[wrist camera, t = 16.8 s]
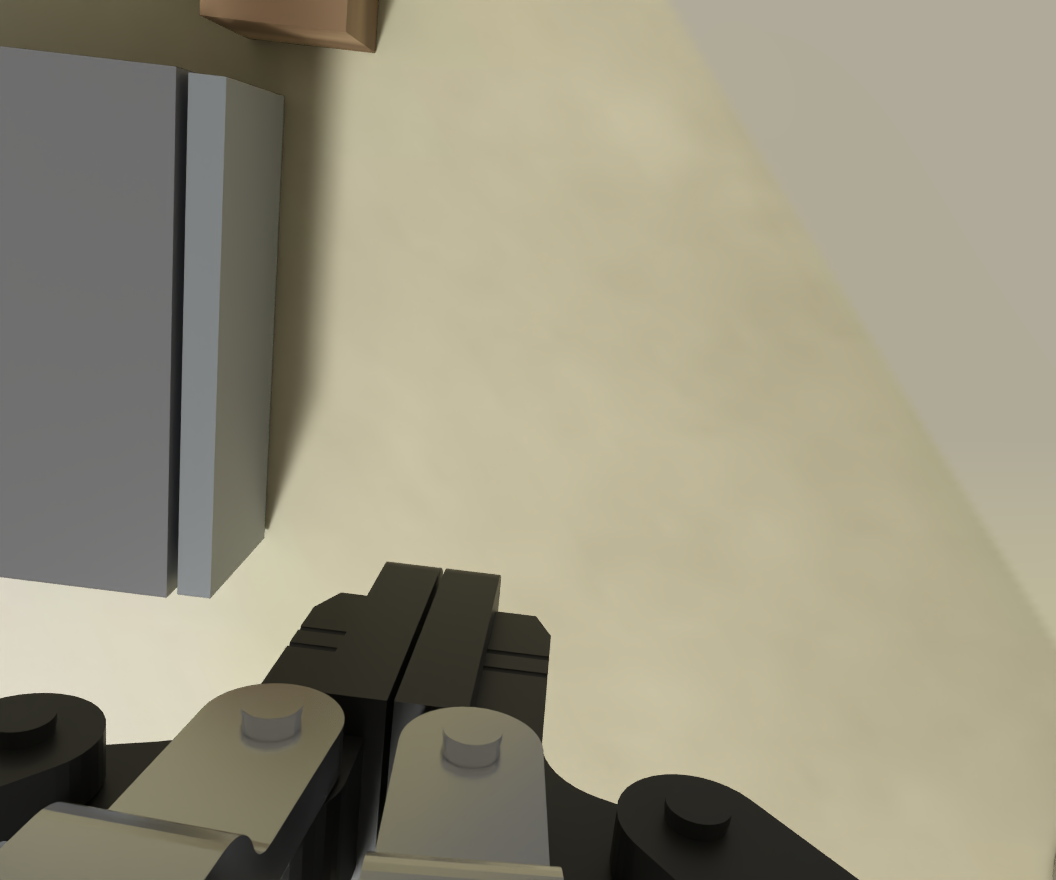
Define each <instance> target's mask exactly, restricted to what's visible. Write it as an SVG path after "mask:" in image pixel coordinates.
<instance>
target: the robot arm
mask: <svg viewBox="0 0 1056 880" xmlns="http://www.w3.org/2000/svg"><path fill="white" fill-rule="evenodd" d="M500 584H501V575H495V574H487V573H478V572H470V571H462V570H454V569H446V570H445V572H444V574H443V570H442V568H436V567H428V566H419V565H411V564H403V563H395V562H386V564H385V565H384V567H383V569H382V570H381V572H380V574H379V576H378V577H377V579H376V581H375V583H374V585H373V586H372V588H371V590H370V592H369V593H368V595H367V596H364V595H356V594H348V593H339V594H338V595H336V596H334V597H332V598H330V599H328V600H326V601H324V602H322V603H321V604H319V605H317V606H315V607H314V608H313V609H312V611H311V612H310V613H309V615H308V616H307V618H306V619H305V621H304V622H303V624H302V625H301V629H300V630H298V631H297V632H296V634H295V635H294V637H293V638H292V640H291V641H290V645H289V646H287V647H286V648H285V650H284V651H283V653H282V654H281V656H280V657H279V659H278V660H277V662H276V663H275V665H274V666H273V667H272V669H271V670H270V672H269V673H268V675H267V676H266V678H265V679H264V681H263V682H262V683H261V684H258V685H250V686H246V687H242V688H238V689H235V690H232V691H229V692H226V693H224V694H222V695H220V696H218V697H216V698H215V699H213V700H211V701H210V702H209V703H208V704H206V705H205V706H204V707H203V708H202V709H201V710H200V711H199V712H198V713H197V714H196V716H195V717H194V718H193V719H192V720H191V721H190V722H189V723H188V724H187V725H186V726H185V727H184V728H183V729H182V731H181V732H180V733H179V734H178V735H177V736H176V737H175V738H174V739H173V740H169V741H159V742H144V743H128V744H112V745H106V719H105V716H104V714H103V712H102V711H101V710H100V709H99V707H97V706H96V705H94V704H93V703H91V702H89V701H87V700H85V699H82V698H79V697H75V696H71V695H65V694H55V693H32V694H22V695H15V696H10V697H4V698H0V880H859V879H857V878H856V877H855V876H853V875H852V874H850V873H849V872H848V871H846V870H845V869H844V868H842V867H841V866H840V865H838V864H837V863H836V862H834V861H833V860H831V859H830V858H829V857H827V856H826V855H825V854H823V853H822V852H821V851H819V850H818V849H816V848H815V847H814V846H812V845H811V844H810V843H808V842H807V841H806V840H804V839H803V838H802V837H800V836H799V835H797V834H796V833H795V832H793V831H792V830H791V829H789V828H788V827H787V826H785V825H784V824H783V823H781V822H780V821H778V820H777V819H776V818H774V817H773V816H772V815H770V814H769V813H768V812H766V811H765V810H764V809H762V808H761V807H759V806H758V805H757V804H755V803H754V802H753V801H751V800H750V799H748V798H747V797H745V796H744V795H742V794H741V793H739V792H737V791H735V790H733V789H731V788H729V787H727V786H725V785H722V784H720V783H717V782H714V781H711V780H707V779H704V778H699V777H694V776H688V775H678V774H667V775H657V776H651V777H648V778H644V779H641V780H639V781H637V782H635V783H633V784H632V785H630V786H629V787H627V788H626V789H625V791H624V792H623V793H622V794H621V796H620V798H619V800H618V804H615V803H612V802H609V801H606V800H603V799H600V798H598V797H595V796H592V795H590V794H587V793H585V792H583V791H581V790H579V789H577V788H576V787H574V786H572V785H571V784H569V783H568V782H566V781H565V780H563V779H562V778H561V777H560V776H559V775H558V774H556V773H555V771H554V770H553V769H552V768H551V767H550V766H549V764H548V762H547V761H546V759H545V757H544V754H543V747H542V737H543V724H544V712H545V700H546V688H547V675H548V663H549V651H550V639H551V636H550V634H549V633H548V632H547V630H546V629H545V628H544V626H543V625H542V624H541V622H540V621H539V620H538V618H537V617H536V616H529V615H521V614H513V613H505V612H498V605H499V595H500ZM1053 880H1056V858H1055V864H1054V870H1053Z"/></svg>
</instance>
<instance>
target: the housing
mask: <svg viewBox="0 0 1056 880" xmlns="http://www.w3.org/2000/svg"><path fill="white" fill-rule="evenodd" d="M188 72H190V73H195V72H192V71H188V70H185V69H182V68H179V67H176V66H167V65H159V64H150V63H142V62H133V61H124V60H116V59H107V58H99V57H90V56H81V55H73V54H64V53H56V52H47V51H38V50H30V49H21V48H13V47H4V46H0V577H4V578H12V579H20V580H28V581H36V582H45V583H53V584H61V585H69V586H77V587H85V588H93V589H101V590H109V591H117V592H125V593H133V594H141V595H149V596H157V597H165V598H167V597H168V596H169V595H170V594H171V593H172V592H173V591H174V590H175V589H176V588H177V586H178V539H179V524H178V523H179V476H180V429H181V383H182V336H183V289H184V242H185V195H186V148H187V119H188Z"/></svg>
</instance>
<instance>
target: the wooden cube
mask: <svg viewBox="0 0 1056 880" xmlns="http://www.w3.org/2000/svg"><path fill="white" fill-rule="evenodd" d="M378 3H379V0H200V13H199V15H201V16H203V17H205V18H207V19H209V20H211V21H213V22H215V23H217V24H219V25H221V26H223V27H225V28H228V29H230V30H232V31H234V32H236V33H238V34H240V35H242V36H244V37H246V38H250V39H258V40H267V41H275V42H284V43H293V44H301V45H310V46H319V47H327V48H336V49H345V50H353V51H362V52H371V53H375V48H376V33H377V18H378Z"/></svg>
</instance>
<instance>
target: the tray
mask: <svg viewBox="0 0 1056 880" xmlns="http://www.w3.org/2000/svg"><path fill="white" fill-rule="evenodd" d="M283 117H284V96H282V95H279V94H276V93H273V92H270V91H267V90H264V89H261V88H258V87H255V86H252V85H249V84H246V83H243V82H240V81H237V80H234V79H232V78H229V77H224V76H216V75H207V74H198V73H190V72H188V119H187V148H186V195H185V242H184V289H183V336H182V383H181V429H180V476H179V523H178V524H179V539H178V586H177V594H178V595H186V596H194V597H203V598H211V597H212V596H213V595H214V594H215V593H216V591H217V590H218V589H219V588H220V587H221V586H222V585H223V584H224V582H225V581H226V580H227V579H228V578H229V577H230V576H231V575H232V574H233V572H234V571H235V570H236V569H237V568H238V567H239V566H240V565H241V563H242V562H243V561H244V560H245V559H246V558H247V557H248V556H249V554H250V553H251V552H252V551H253V550H254V549H255V548H256V547H257V545H258V544H259V543H260V542H261V541H262V540H263V539H264V532H265V510H266V488H267V466H268V445H269V423H270V401H271V379H272V357H273V335H274V314H275V292H276V270H277V248H278V226H279V204H280V182H281V161H282V139H283Z"/></svg>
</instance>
